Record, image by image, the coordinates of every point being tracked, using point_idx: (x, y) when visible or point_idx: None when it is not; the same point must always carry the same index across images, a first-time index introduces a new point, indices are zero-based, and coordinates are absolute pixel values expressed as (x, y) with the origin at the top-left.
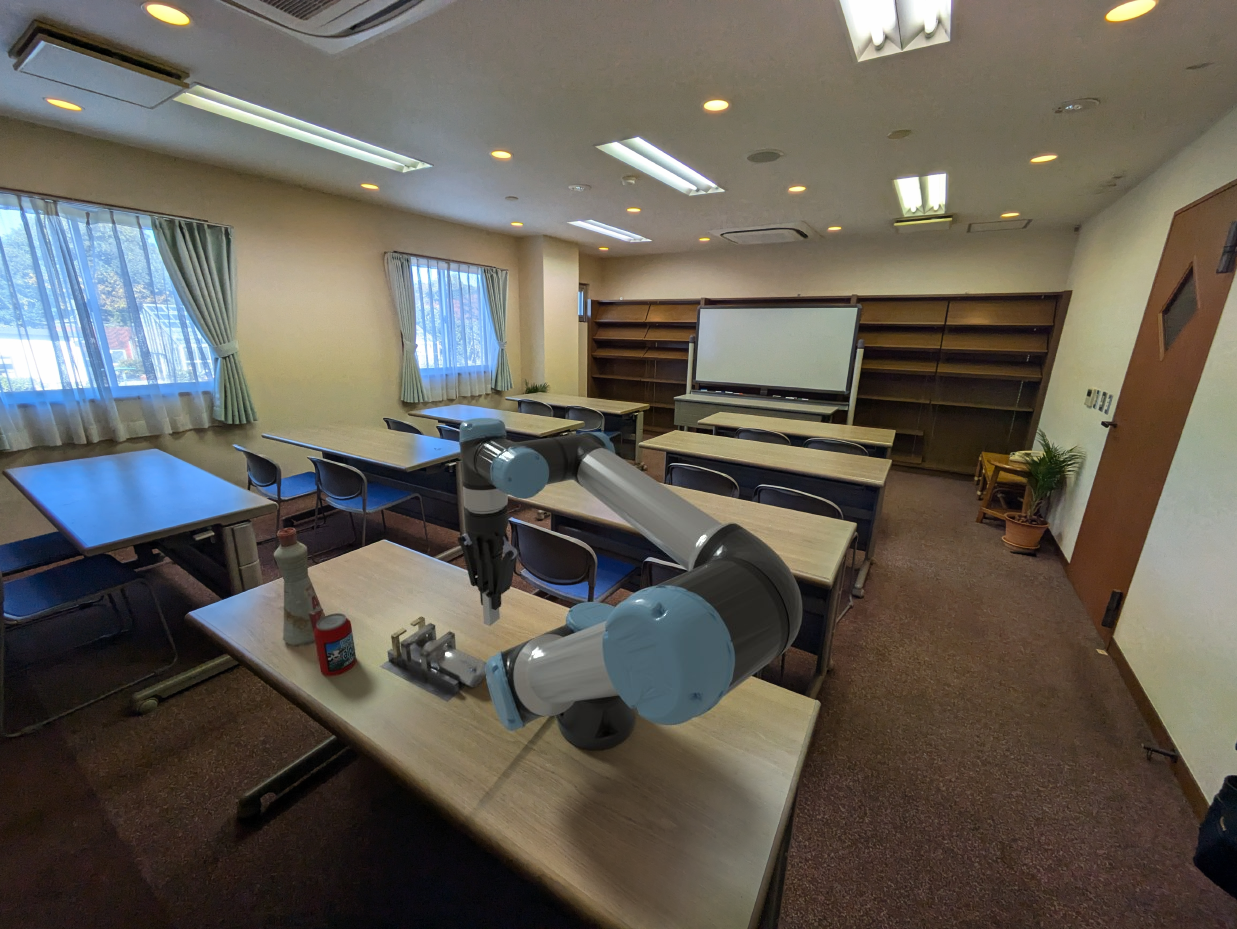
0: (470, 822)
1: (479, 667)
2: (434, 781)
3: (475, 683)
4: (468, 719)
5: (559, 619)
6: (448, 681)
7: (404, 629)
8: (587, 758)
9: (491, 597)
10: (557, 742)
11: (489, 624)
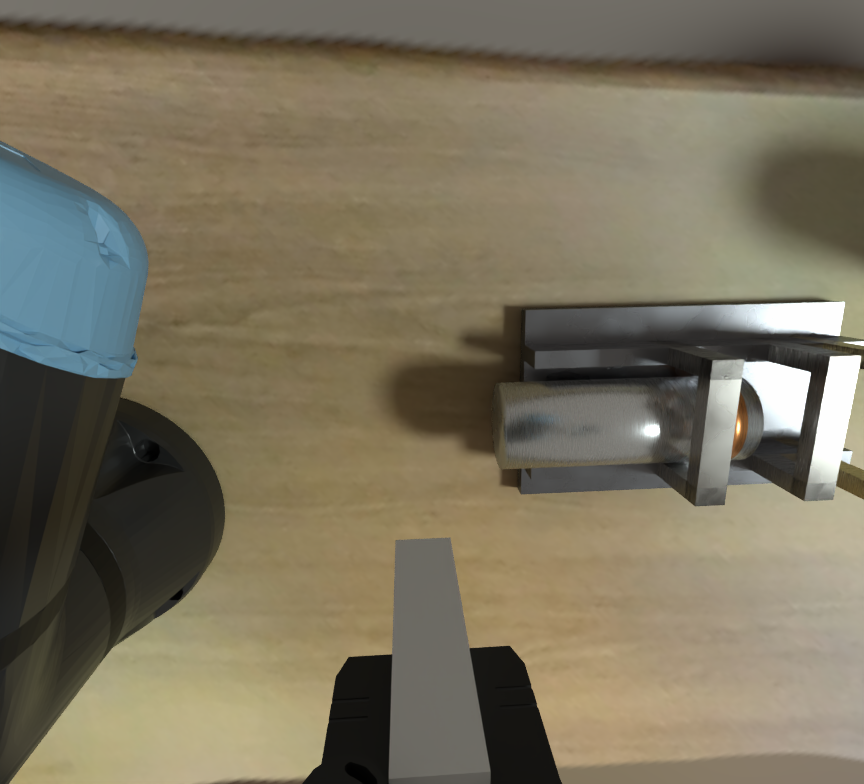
0: (146, 38)
1: (502, 443)
2: (340, 82)
3: (493, 405)
4: (425, 303)
5: None
6: (565, 351)
7: None
8: None
9: (385, 768)
10: (137, 377)
11: (399, 546)
